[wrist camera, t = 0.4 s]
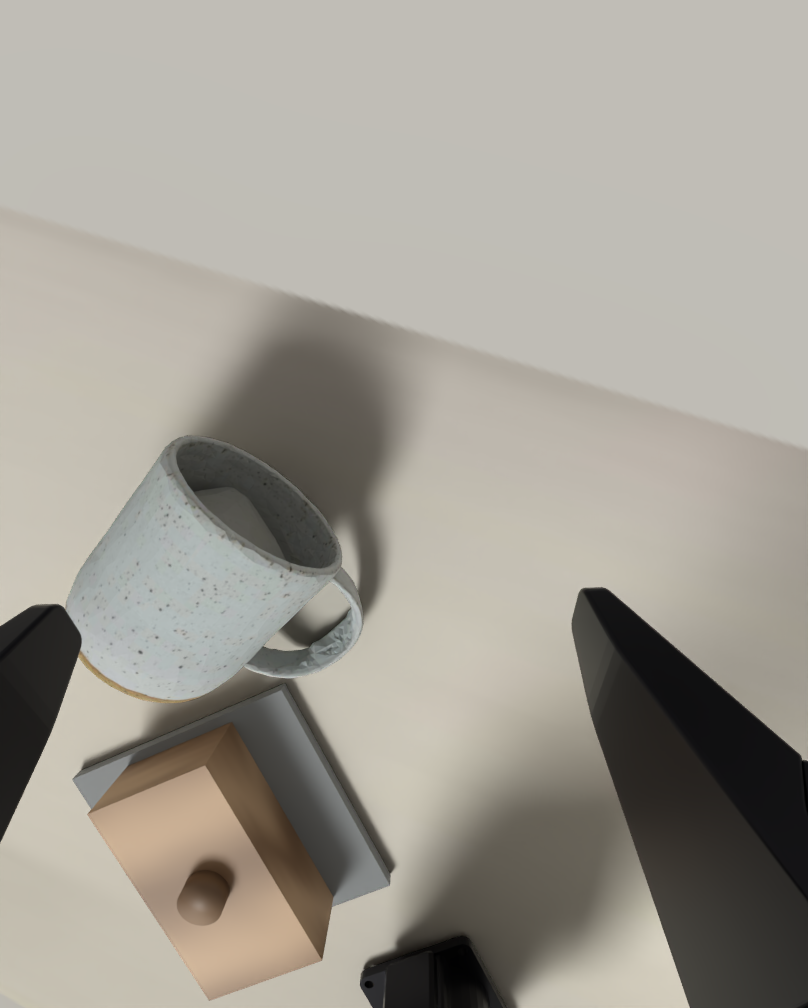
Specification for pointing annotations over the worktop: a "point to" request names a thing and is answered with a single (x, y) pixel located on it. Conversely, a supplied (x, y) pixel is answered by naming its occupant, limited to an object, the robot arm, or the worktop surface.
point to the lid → (217, 862)
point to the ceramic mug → (207, 577)
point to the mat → (279, 787)
